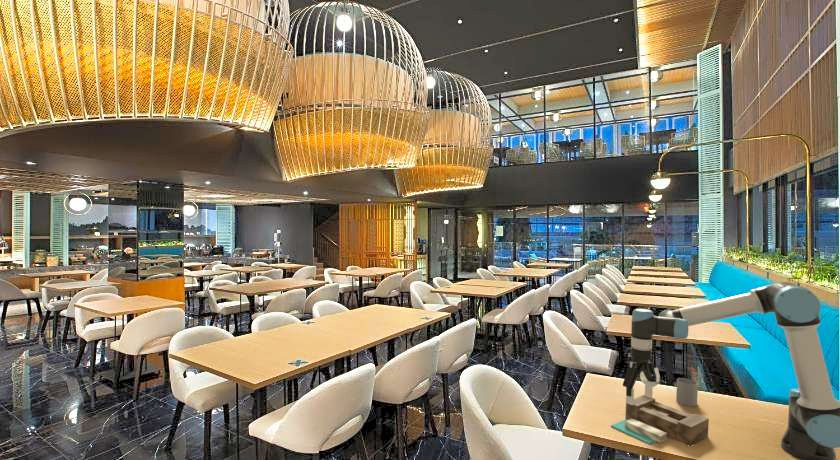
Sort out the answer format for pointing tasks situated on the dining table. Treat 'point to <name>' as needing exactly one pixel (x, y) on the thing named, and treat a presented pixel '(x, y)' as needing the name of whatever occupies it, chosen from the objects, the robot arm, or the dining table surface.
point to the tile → (646, 430)
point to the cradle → (669, 420)
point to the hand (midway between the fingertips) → (639, 400)
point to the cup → (687, 392)
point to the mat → (631, 432)
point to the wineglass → (656, 376)
